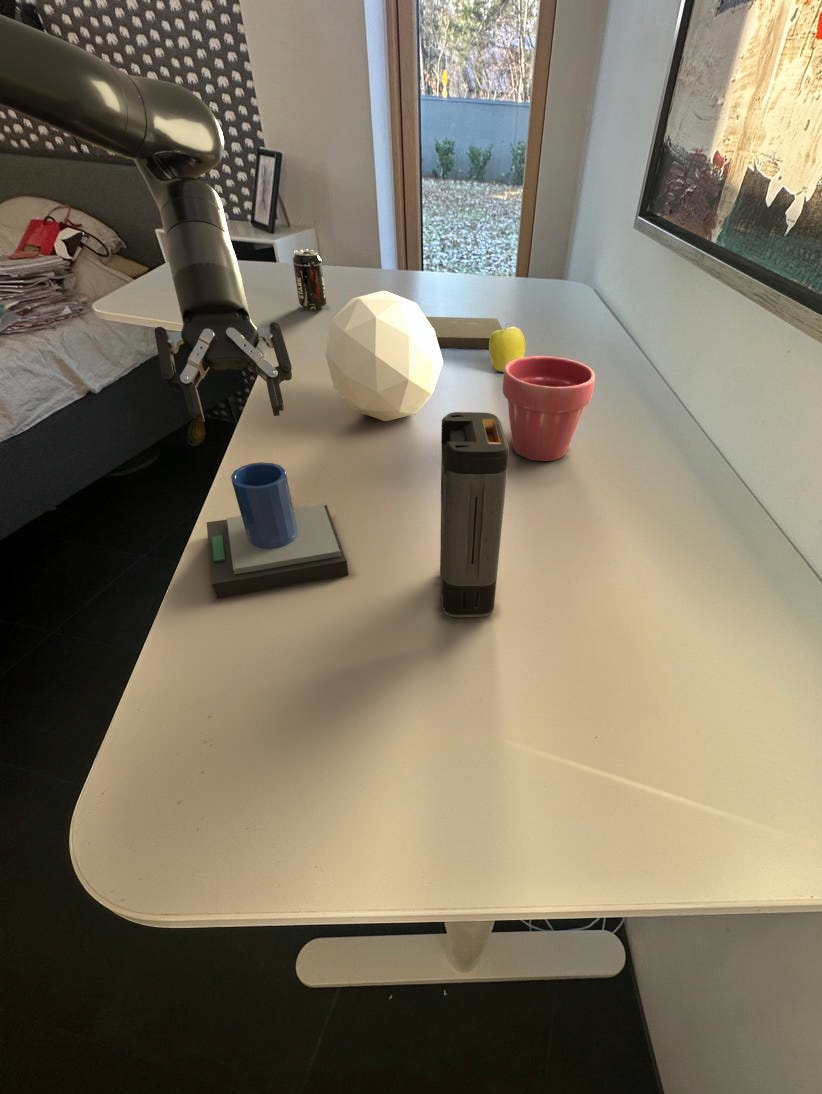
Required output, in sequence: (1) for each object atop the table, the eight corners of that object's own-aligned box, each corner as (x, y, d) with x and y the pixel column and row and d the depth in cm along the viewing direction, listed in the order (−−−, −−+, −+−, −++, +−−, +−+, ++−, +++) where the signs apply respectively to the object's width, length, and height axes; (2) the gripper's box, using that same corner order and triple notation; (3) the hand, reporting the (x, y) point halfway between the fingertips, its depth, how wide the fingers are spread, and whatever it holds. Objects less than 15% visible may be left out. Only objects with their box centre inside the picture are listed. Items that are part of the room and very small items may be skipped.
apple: (535, 368, 120) (527, 319, 112) (501, 383, 119) (491, 335, 112) (520, 356, 125) (511, 308, 118) (487, 370, 125) (477, 323, 117)
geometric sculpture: (362, 446, 107) (300, 342, 100) (450, 394, 109) (395, 289, 102) (372, 438, 90) (297, 310, 83) (477, 376, 92) (413, 246, 85)
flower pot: (512, 424, 102) (520, 348, 93) (588, 440, 99) (603, 363, 90) (486, 458, 92) (491, 377, 83) (569, 476, 89) (584, 394, 80)
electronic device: (439, 569, 70) (440, 410, 56) (486, 568, 71) (499, 410, 57) (443, 620, 64) (445, 453, 50) (495, 618, 65) (512, 454, 51)
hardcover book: (404, 326, 139) (404, 316, 137) (496, 328, 142) (497, 318, 140) (406, 348, 128) (406, 337, 126) (506, 350, 131) (507, 339, 129)
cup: (250, 552, 66) (233, 491, 60) (245, 525, 70) (229, 465, 64) (301, 544, 68) (289, 483, 62) (294, 518, 71) (282, 459, 66)
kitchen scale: (217, 599, 64) (209, 578, 62) (211, 536, 73) (204, 516, 71) (348, 575, 69) (345, 555, 67) (328, 518, 77) (325, 499, 75)
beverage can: (305, 312, 143) (297, 255, 134) (295, 305, 147) (287, 249, 138) (331, 309, 146) (324, 254, 137) (320, 302, 150) (314, 248, 141)
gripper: (131, 260, 61) (166, 408, 61) (269, 258, 65) (300, 397, 66) (150, 302, 68) (181, 435, 69) (272, 298, 72) (301, 423, 73)
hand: (239, 416), depth 67 cm, fingers open, 8 cm apart
